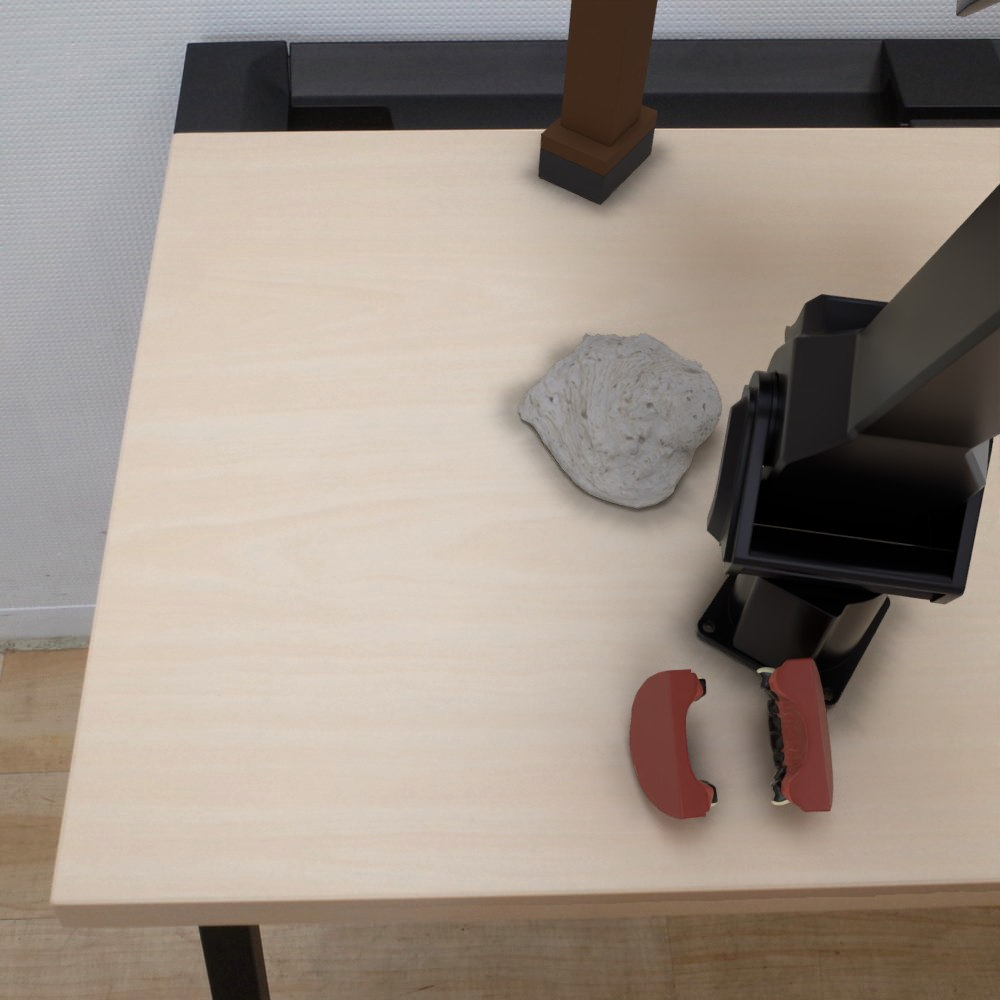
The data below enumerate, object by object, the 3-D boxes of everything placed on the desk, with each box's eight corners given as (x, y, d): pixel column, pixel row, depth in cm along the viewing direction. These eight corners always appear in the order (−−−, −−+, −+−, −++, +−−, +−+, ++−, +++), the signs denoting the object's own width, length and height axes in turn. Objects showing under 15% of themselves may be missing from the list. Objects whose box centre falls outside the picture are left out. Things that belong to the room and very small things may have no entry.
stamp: (600, 205, 64) (628, -10, 53) (537, 176, 65) (552, -38, 55) (651, 153, 67) (686, -59, 56) (590, 127, 68) (613, -85, 58)
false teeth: (632, 811, 44) (830, 795, 44) (646, 826, 40) (865, 810, 40) (620, 670, 45) (814, 655, 45) (632, 671, 40) (847, 654, 41)
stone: (528, 302, 55) (729, 298, 53) (544, 368, 59) (732, 368, 56) (487, 447, 49) (710, 452, 47) (507, 511, 53) (716, 519, 50)
